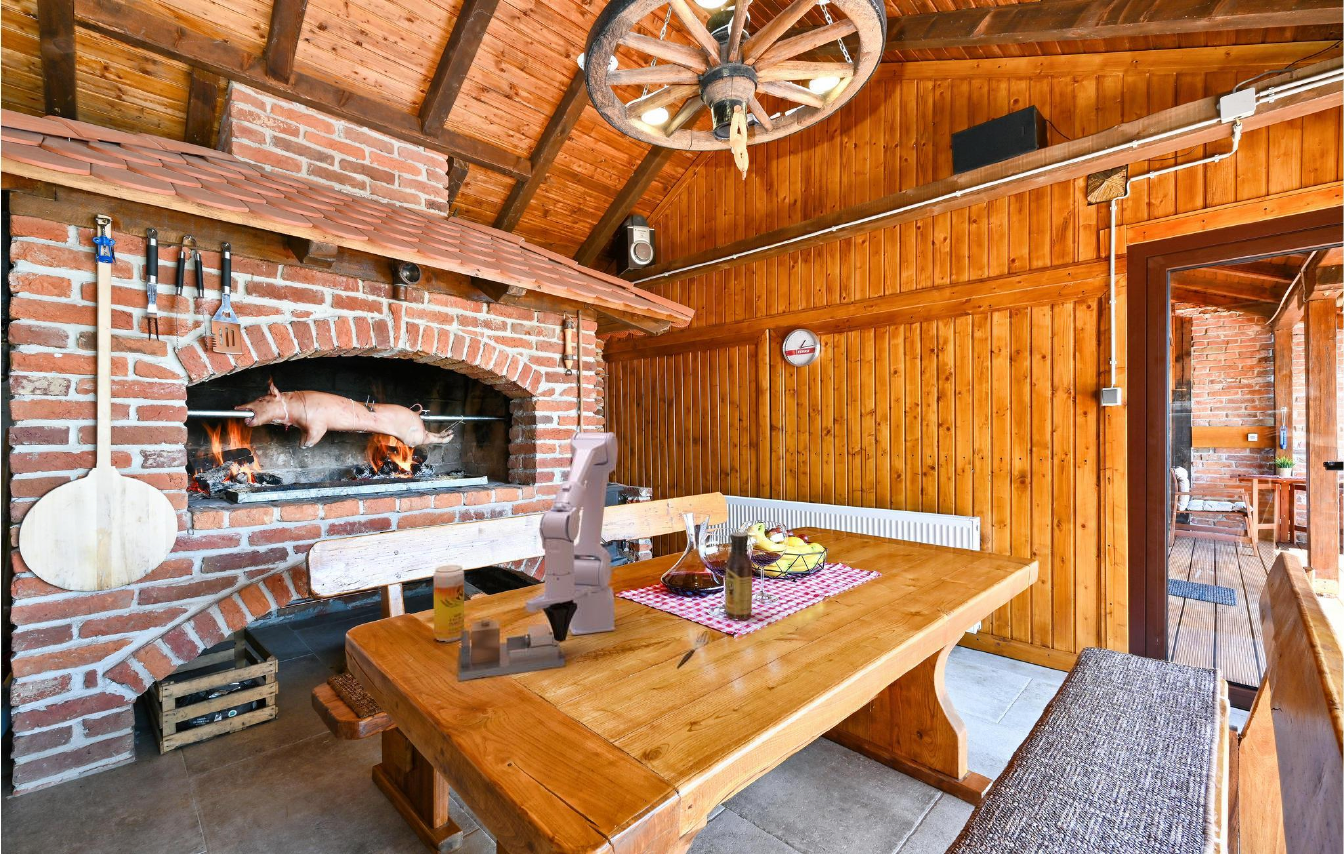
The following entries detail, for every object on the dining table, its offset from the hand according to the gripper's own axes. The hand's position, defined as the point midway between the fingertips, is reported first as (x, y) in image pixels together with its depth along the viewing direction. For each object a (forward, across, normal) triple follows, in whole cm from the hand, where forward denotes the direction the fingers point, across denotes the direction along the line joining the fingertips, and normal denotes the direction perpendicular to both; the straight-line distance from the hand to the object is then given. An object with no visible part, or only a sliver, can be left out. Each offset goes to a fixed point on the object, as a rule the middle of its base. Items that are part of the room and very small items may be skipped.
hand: (560, 639), depth 118 cm
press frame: (+3, +8, -4) cm, 10 cm away
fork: (+3, -18, +19) cm, 26 cm away
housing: (+1, +12, -7) cm, 14 cm away
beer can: (+3, +10, -25) cm, 27 cm away
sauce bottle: (+3, -42, +13) cm, 44 cm away
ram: (+1, +4, -2) cm, 5 cm away
